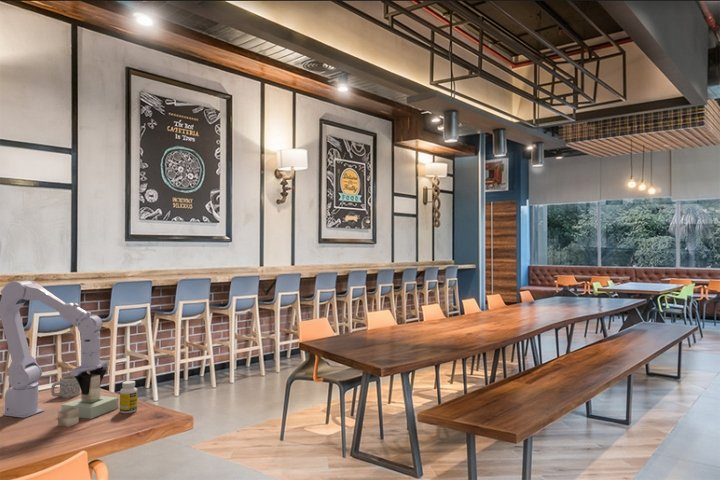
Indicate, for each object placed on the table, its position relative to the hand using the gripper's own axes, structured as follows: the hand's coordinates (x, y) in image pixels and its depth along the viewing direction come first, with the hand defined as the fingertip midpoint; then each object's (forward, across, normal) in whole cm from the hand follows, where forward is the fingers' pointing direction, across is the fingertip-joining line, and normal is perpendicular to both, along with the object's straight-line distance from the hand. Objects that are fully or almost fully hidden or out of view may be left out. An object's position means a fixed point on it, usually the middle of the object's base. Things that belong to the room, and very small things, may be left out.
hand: (90, 392), depth 179 cm
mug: (+7, +12, +23) cm, 27 cm away
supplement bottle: (+7, +4, -12) cm, 14 cm away
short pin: (+6, -12, -3) cm, 14 cm away
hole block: (+6, 0, 0) cm, 6 cm away
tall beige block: (+2, 0, 0) cm, 2 cm away
